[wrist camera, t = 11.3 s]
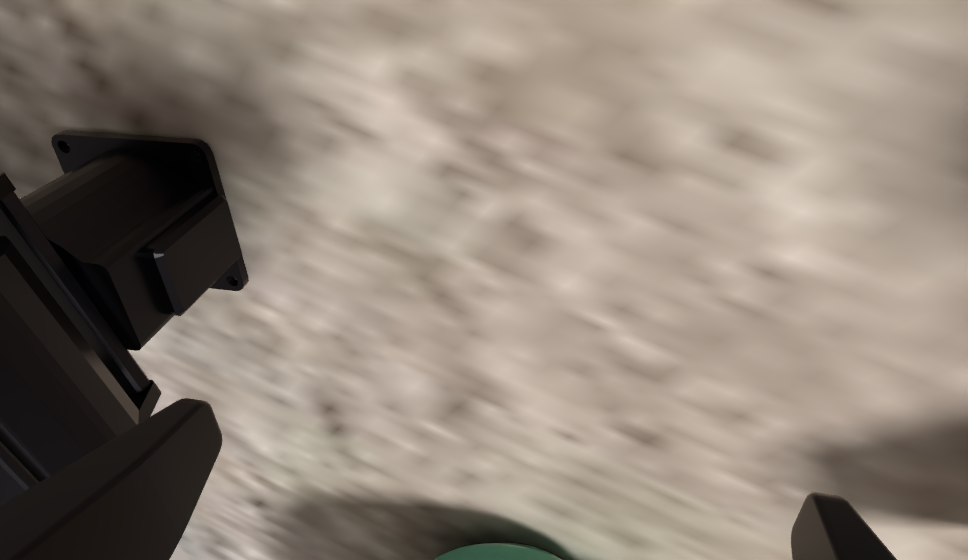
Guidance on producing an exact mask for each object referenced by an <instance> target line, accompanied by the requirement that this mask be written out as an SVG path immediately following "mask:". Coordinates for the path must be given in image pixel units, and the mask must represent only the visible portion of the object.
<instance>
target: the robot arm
mask: <svg viewBox="0 0 968 560" xmlns="http://www.w3.org/2000/svg"><path fill="white" fill-rule="evenodd" d="M51 142H52V146H53V148H54V150H55V153H56V155H57V157H58V160H59V162H60V164H61V166H62V169H63V171H64V173H65V175H63V176H61V177H59V178H57V179H56V180H54V181H52V182H50V183H48V184H47V185H45V186H43V187H41V188H39V189H38V190H36V191H34V192H32V193H30V194H29V195H27V196H25V197H23V198H21V199H20V200H19V199H18V197H17V196H16V194H15V193H14V192H13V191H15V190H16V188H15V187H14V186H13V184H12V183H11V182H10V180H9V179H8V177H7V176H6V175H5V173H0V560H169V559H170V557H171V555H172V554H173V552H174V550H175V548H176V546H177V544H178V543H179V541H180V539H181V537H182V535H183V533H184V531H185V528H186V526H187V524H188V522H189V520H190V518H191V515H192V513H193V511H194V509H195V506H196V504H197V502H198V500H199V497H200V495H201V493H202V490H203V488H204V486H205V484H206V481H207V479H208V477H209V475H210V472H211V470H212V468H213V466H214V463H215V461H216V459H217V457H218V454H219V452H220V449H221V446H222V434H221V431H220V428H219V426H218V423H217V420H216V418H215V415H214V412H213V410H212V407H211V406H210V404H209V403H208V402H206V401H202V400H195V399H188V398H185V399H181V400H178V401H176V402H175V403H173V404H171V405H170V406H168V407H166V408H164V409H163V410H161V411H159V412H158V413H156V414H154V415H153V416H151V414H152V412H153V410H154V408H155V405H156V403H157V401H158V399H159V397H160V395H161V391H160V390H159V388H158V387H157V385H156V384H155V383H154V381H153V380H149V379H148V378H147V376H146V375H145V373H144V372H143V371H142V369H141V368H140V367H139V365H138V364H137V362H136V361H135V360H134V358H133V357H132V355H131V354H130V353H129V351H128V350H140V349H141V348H142V347H143V346H144V345H145V344H146V343H147V342H148V341H149V340H150V339H151V338H152V337H153V336H154V335H155V334H156V333H157V332H158V331H159V330H160V329H161V328H162V327H163V326H164V325H165V324H166V323H167V322H168V321H169V320H170V319H171V318H172V317H173V316H174V315H176V316H181V315H183V314H184V313H185V312H186V311H187V310H188V309H189V308H190V307H191V306H192V305H193V304H194V303H195V302H196V301H197V300H198V299H199V298H200V297H201V296H202V295H203V294H204V293H205V292H206V291H207V290H208V289H209V288H214V289H223V290H232V291H239V290H241V289H243V287H244V286H245V285H246V284H247V283H248V281H249V280H248V274H247V271H246V267H245V264H244V260H243V257H242V252H241V248H240V245H239V241H238V238H237V234H236V231H235V227H234V223H233V220H232V216H231V213H230V209H229V206H228V202H227V200H226V197H225V193H224V190H223V186H222V183H221V179H220V176H219V172H218V169H217V165H216V162H215V158H214V155H213V152H212V150H211V148H210V147H209V146H208V144H207V143H205V142H204V141H202V140H198V139H187V138H172V137H157V136H142V135H127V134H112V133H97V132H82V131H67V130H66V131H62V132H60V133H58V134H56V135H54V136H53V137H52V141H51ZM67 144H68V145H69V146H68V145H67ZM194 150H195V151H197V152H198V153H199V154H200V156H201V158H199V157H198V156H197V155H196V154H195V152H194ZM233 277H235V278H236V279H237V280H235V279H234V278H233ZM127 349H128V350H127ZM150 416H151V417H150ZM791 548H792V558H793V560H897V559H896V558H895V557H894V556H893V554H892V553H891V552H890V551H889V550H888V549H887V547H886V546H885V545H884V544H883V543H882V541H881V540H880V539H879V538H878V537H877V535H876V534H875V533H874V532H873V531H872V530H871V528H870V527H869V526H868V525H867V524H866V522H865V521H864V520H863V519H862V518H861V516H860V515H859V514H858V513H857V512H856V511H855V509H854V508H853V507H852V506H851V505H850V503H849V502H848V501H846V500H845V499H844V498H842V497H840V496H836V495H829V494H822V493H811V494H809V495H808V496H807V497H806V499H805V501H804V504H803V506H802V508H801V510H800V512H799V514H798V517H797V519H796V521H795V523H794V525H793V528H792V533H791Z"/></svg>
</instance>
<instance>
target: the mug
mask: <svg viewBox="0 0 968 560" xmlns="http://www.w3.org/2000/svg"><path fill="white" fill-rule="evenodd" d="M434 560H562V559H560V558H558V557H557V556H555V555H553V554H551V553H549V552H546V551H544V550H541V549H539V548H536V547H533V546H529V545H523V544H517V543H487V544H475V545H469V546H464V547H461V548H457V549H454V550H452V551H449V552H447V553H445V554H442V555H440V556H439V557H437V558H435V559H434Z"/></svg>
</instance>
